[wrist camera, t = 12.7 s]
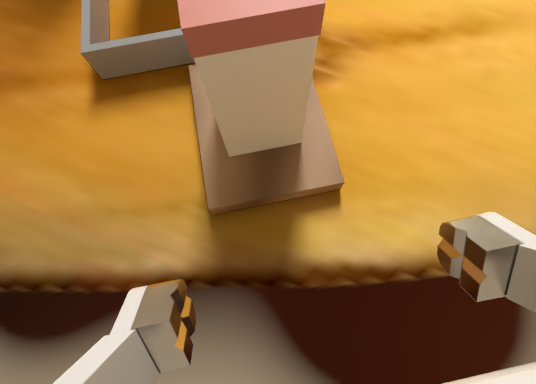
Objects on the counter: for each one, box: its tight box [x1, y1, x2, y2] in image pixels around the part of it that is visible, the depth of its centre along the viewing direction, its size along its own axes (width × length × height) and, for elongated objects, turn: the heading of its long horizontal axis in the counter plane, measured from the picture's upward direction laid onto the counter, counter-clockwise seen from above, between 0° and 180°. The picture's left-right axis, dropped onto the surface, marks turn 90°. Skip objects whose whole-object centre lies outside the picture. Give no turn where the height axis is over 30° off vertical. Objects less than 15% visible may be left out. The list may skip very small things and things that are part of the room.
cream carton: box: [177, 0, 325, 157], centre depth 14 cm, size 5×5×9 cm
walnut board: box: [188, 64, 344, 215], centre depth 19 cm, size 8×10×1 cm
